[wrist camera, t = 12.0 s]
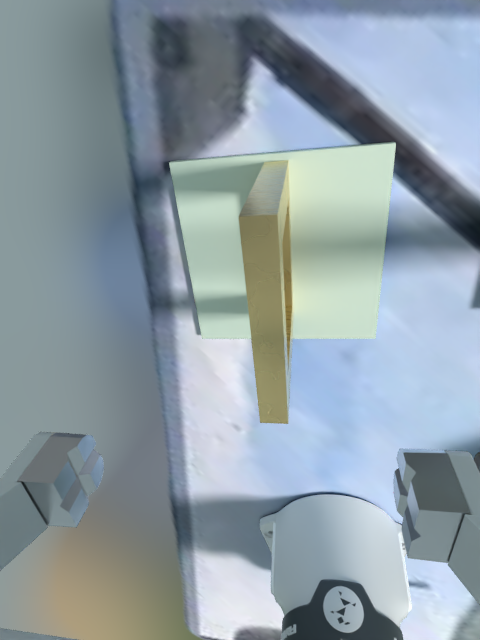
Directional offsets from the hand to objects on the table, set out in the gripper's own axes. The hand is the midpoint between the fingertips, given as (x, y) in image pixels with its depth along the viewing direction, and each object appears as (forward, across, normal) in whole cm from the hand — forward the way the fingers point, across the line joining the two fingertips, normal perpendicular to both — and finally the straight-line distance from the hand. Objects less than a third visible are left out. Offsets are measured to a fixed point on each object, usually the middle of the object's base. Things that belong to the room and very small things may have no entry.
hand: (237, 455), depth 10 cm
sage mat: (+21, 0, -3) cm, 22 cm away
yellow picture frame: (+21, 0, -2) cm, 21 cm away
